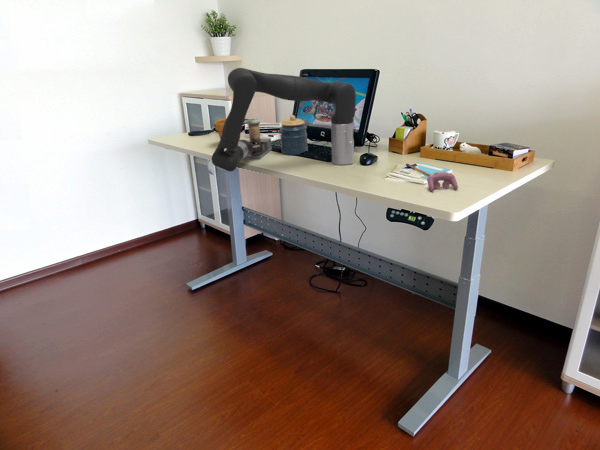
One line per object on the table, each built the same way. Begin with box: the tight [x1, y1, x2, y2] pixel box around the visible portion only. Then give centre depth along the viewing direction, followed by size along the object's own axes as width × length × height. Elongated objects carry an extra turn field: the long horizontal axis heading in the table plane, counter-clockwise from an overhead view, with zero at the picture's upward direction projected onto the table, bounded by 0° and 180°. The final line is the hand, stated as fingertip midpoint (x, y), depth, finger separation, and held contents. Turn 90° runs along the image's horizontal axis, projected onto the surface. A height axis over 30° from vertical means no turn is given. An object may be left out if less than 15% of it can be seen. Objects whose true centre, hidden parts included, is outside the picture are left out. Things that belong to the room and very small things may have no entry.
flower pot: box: [214, 118, 241, 140], centre depth 217 cm, size 14×14×13 cm
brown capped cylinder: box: [246, 118, 261, 152], centre depth 198 cm, size 6×6×15 cm
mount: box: [243, 138, 273, 160], centre depth 200 cm, size 10×18×6 cm, turn 166°
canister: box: [279, 114, 309, 156], centre depth 198 cm, size 13×13×18 cm
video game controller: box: [426, 171, 459, 193], centre depth 143 cm, size 10×5×7 cm, turn 93°
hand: (253, 141), depth 196 cm, fingers closed
